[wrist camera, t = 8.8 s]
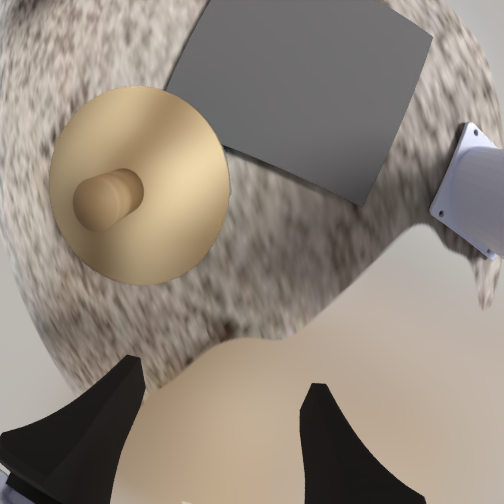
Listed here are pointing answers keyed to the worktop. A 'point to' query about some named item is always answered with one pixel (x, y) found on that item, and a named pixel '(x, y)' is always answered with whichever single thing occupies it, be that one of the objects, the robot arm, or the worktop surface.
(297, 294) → the worktop surface
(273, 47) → the mat
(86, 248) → the lid
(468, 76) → the worktop surface
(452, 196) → the robot arm
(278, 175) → the worktop surface
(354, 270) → the worktop surface
